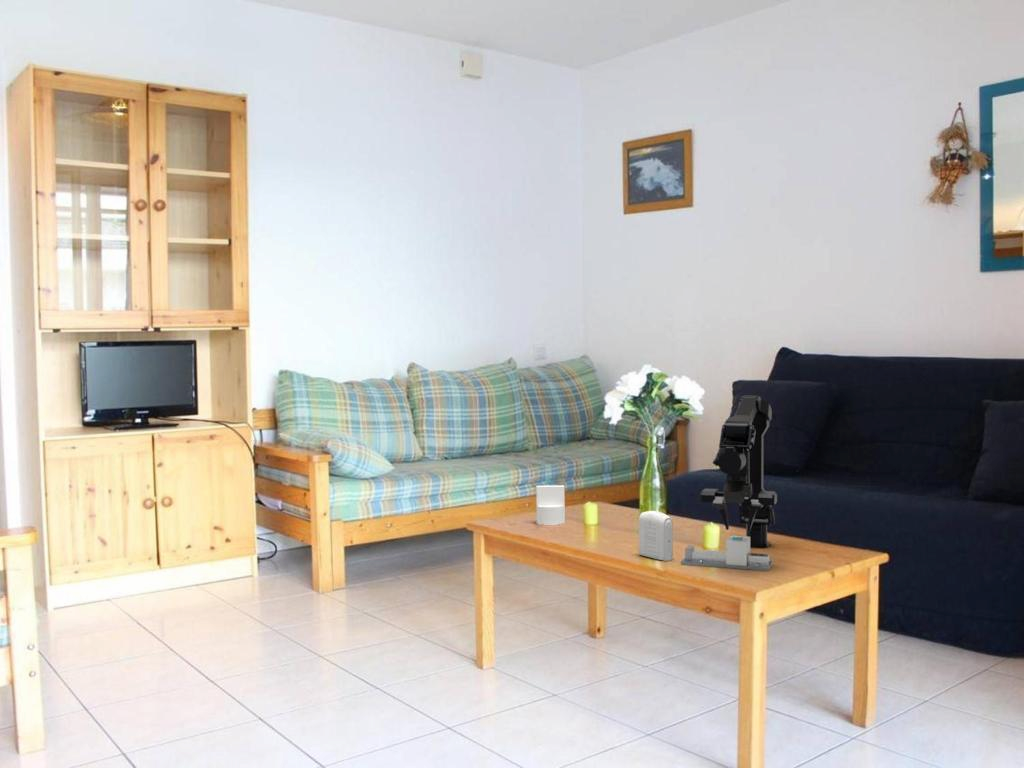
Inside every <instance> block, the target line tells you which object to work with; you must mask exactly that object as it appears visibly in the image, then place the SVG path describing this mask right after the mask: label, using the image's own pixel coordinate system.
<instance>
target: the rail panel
mask: <svg viewBox="0 0 1024 768" xmlns="http://www.w3.org/2000/svg"><path fill="white" fill-rule="evenodd" d="M681 564H682V566H697V567H707V566H712V567H711V568H721V567H727V568H726V569H734V568H737V570H748V569H750V570H752V571H761V572H762V571H763V570H764V572H769V570H770V569H771V567H772V566H771V565H773V560H770V554H767V553H755V552H750V553H748V554H747V565H746V566H743V565H729V564H726V550H712V549H711V550H710V549H695V545H690V544H688V545H687V546H686V547H685V548H684V558H682V559H681V561H680V565H681ZM750 570H749V571H750Z"/></svg>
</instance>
